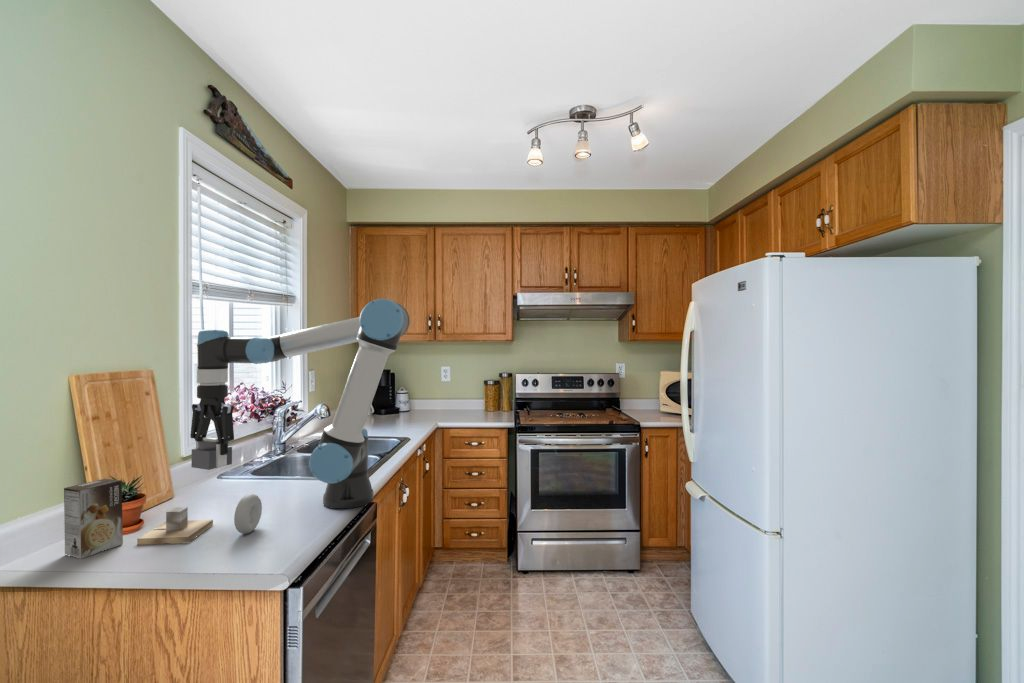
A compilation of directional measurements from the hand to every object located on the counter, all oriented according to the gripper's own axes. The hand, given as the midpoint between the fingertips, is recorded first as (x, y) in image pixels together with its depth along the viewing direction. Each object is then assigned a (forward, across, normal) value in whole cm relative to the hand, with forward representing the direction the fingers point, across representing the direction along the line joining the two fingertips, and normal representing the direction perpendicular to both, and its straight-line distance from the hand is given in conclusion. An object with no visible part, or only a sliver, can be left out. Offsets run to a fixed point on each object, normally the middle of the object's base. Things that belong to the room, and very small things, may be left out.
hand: (211, 464), depth 140 cm
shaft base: (+15, -2, +11) cm, 19 cm away
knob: (0, 0, 0) cm, 0 cm away
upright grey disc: (+15, -18, +3) cm, 24 cm away
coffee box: (+16, +7, +25) cm, 30 cm away
